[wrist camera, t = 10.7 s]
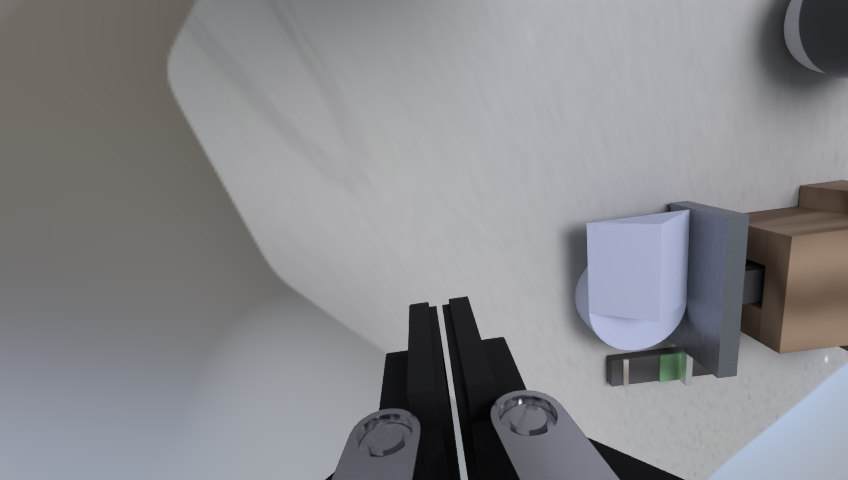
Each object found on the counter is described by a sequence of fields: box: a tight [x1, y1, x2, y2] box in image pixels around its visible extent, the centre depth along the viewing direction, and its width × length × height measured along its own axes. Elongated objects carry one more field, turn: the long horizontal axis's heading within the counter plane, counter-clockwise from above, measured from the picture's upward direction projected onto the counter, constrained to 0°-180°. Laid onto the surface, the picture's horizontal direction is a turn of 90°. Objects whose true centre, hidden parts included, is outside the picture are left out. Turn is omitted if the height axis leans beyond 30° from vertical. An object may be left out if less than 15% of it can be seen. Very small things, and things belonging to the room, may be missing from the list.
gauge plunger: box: [667, 201, 766, 386], centre depth 36 cm, size 18×10×7 cm, turn 7°
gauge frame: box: [607, 180, 848, 386], centre depth 36 cm, size 18×22×8 cm
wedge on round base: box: [575, 209, 690, 350], centre depth 36 cm, size 9×7×13 cm
